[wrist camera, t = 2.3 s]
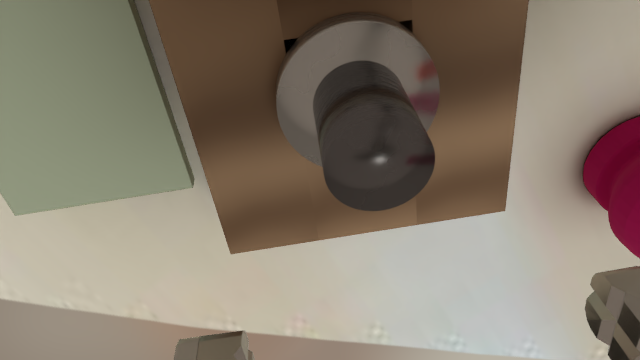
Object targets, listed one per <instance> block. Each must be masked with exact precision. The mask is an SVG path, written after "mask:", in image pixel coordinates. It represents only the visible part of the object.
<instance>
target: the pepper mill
mask: <svg viewBox="0 0 640 360" xmlns="http://www.w3.org/2000/svg"><path fill="white" fill-rule="evenodd" d="M583 180H584V184H585V186H586V188H587V190H588V191H589V192H590V193H591V195H592V196H593V197H594V198H595V199H596V200H597V201H598V202H599V204H600V205H601V206H602V207H603V208H604V209H606V210H607V211H608V216H609V222H610V226H611V229H612V231H613V233H614V234H615V236H616V237H617V238H618V240H619V241H620V242H621V243H622V244H623V245H624V246H626V247H627V248H628V249H629V250H630V251H631V252H632V253H633V254H634V255H636V256H637V257H639V258H640V116H639V117H636V118H633V119H630V120H627V121H626V122H624V123H622V124H620V125H618V126H616V127H615V128H613V129H612V130H611V131H609V132H608V133H607V134H606V135H605V136H603V137H602V138H601V139H600V140H599V141H598V142H597V144H596V145H595V146H594V147H593V149H592V150H591V151H590V153H589V155H588V157H587V160H586V162H585V164H584V171H583Z"/></svg>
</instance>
